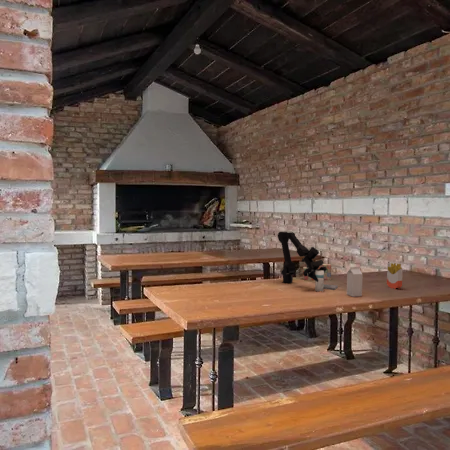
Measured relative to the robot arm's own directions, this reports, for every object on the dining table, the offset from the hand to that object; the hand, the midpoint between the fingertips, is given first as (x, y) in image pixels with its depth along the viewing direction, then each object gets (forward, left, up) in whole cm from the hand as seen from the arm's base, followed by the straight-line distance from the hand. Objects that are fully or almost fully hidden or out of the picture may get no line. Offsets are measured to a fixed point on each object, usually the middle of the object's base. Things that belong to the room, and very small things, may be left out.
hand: (320, 280), depth 294 cm
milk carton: (+23, -3, -7) cm, 24 cm away
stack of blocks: (-12, +43, -7) cm, 45 cm away
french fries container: (+46, +35, -7) cm, 58 cm away
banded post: (-1, +1, -7) cm, 7 cm away
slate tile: (+2, +14, -7) cm, 16 cm away
